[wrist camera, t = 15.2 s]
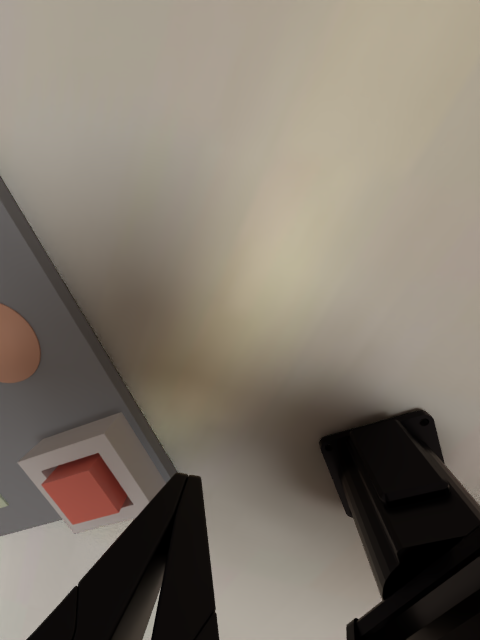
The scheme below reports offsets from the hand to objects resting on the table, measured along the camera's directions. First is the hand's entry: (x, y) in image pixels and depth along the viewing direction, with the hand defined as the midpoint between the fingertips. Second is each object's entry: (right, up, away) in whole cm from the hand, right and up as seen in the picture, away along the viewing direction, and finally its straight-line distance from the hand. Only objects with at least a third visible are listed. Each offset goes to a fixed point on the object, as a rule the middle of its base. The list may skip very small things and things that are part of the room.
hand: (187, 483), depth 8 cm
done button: (-7, -4, +8) cm, 11 cm away
